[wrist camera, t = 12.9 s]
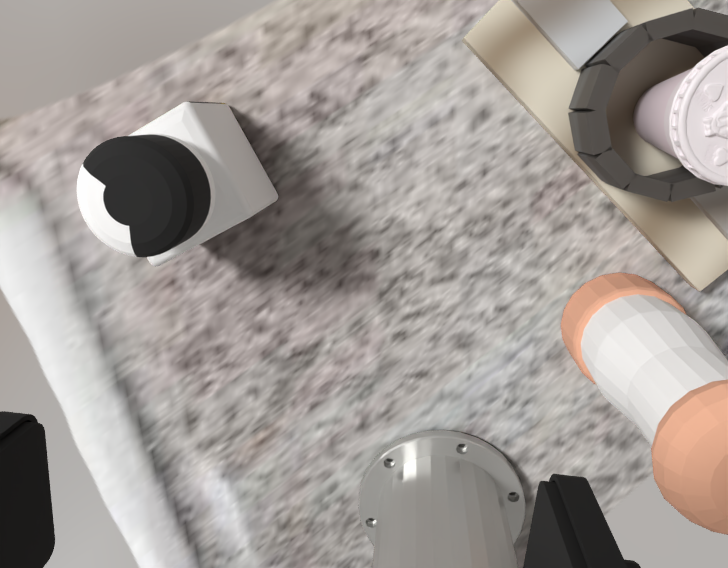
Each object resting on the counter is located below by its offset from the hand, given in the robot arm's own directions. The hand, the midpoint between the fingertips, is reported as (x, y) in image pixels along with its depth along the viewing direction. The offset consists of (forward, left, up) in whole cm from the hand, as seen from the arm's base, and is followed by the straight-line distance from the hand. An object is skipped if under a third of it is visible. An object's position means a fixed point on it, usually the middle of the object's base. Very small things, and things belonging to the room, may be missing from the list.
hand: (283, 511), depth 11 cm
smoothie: (+11, -15, -29) cm, 34 cm away
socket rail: (+11, -14, -30) cm, 35 cm away
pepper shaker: (-3, -17, -31) cm, 35 cm away
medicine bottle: (0, +12, -31) cm, 33 cm away
